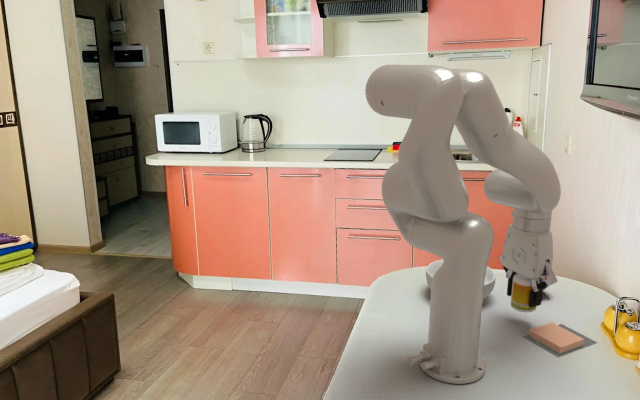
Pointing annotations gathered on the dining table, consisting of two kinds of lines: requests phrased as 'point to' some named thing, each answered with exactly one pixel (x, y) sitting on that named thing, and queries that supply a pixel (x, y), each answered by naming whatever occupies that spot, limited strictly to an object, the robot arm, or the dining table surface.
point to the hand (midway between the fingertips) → (523, 299)
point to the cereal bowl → (488, 281)
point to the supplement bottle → (521, 293)
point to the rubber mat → (586, 343)
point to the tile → (556, 338)
